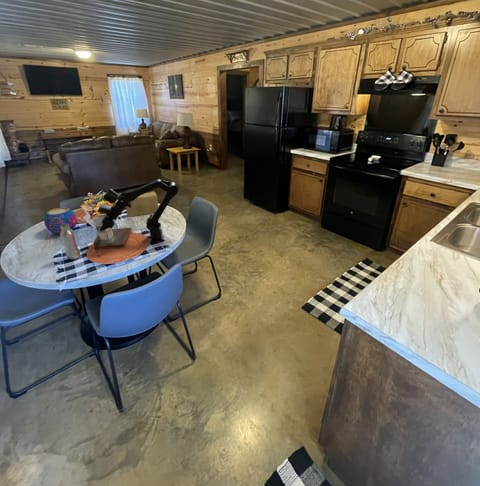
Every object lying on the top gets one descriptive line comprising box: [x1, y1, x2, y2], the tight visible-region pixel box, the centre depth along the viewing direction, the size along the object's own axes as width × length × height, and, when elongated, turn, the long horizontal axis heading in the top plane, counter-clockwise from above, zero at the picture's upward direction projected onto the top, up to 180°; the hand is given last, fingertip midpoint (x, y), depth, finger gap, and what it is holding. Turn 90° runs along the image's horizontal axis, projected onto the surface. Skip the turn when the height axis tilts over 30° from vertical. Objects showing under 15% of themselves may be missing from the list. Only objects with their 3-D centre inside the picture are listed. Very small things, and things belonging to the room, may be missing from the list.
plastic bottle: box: [59, 224, 81, 261], centre depth 140 cm, size 6×7×20 cm
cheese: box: [125, 191, 159, 218], centre depth 195 cm, size 22×10×15 cm, turn 120°
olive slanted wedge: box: [92, 227, 132, 250], centre depth 162 cm, size 16×22×4 cm
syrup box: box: [92, 213, 113, 240], centre depth 152 cm, size 6×6×14 cm
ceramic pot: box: [43, 206, 78, 235], centre depth 169 cm, size 18×18×15 cm
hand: (101, 227), depth 152 cm, fingers closed on syrup box, 7 cm apart
